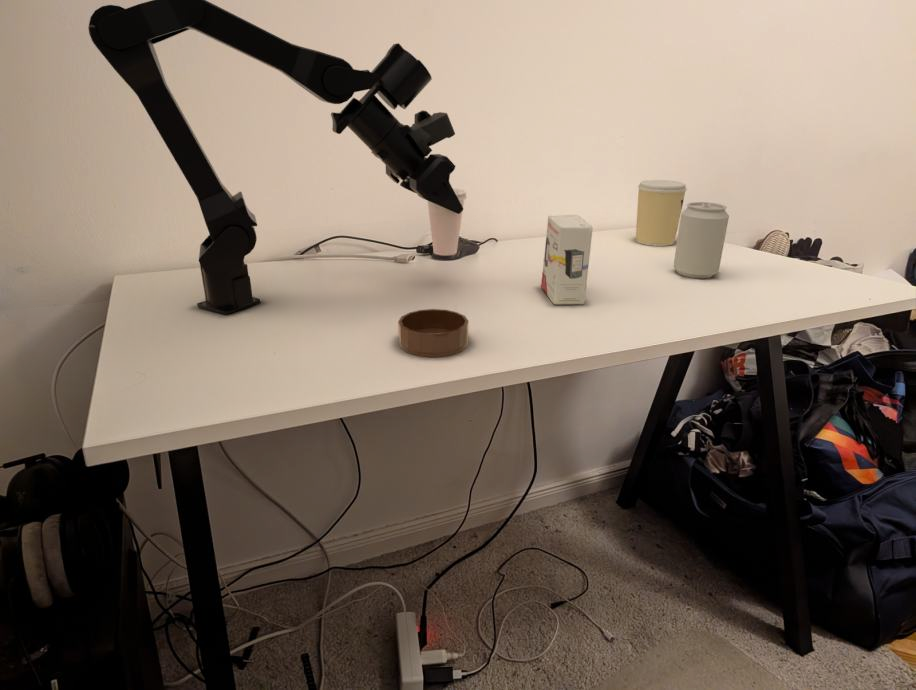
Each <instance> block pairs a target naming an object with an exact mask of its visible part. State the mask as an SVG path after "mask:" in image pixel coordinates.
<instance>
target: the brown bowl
mask: <svg viewBox="0 0 916 690" xmlns="http://www.w3.org/2000/svg"><path fill="white" fill-rule="evenodd" d="M469 323H470V322H469V319H468V317H466V315H464V314H462V313H460V312H458V311H454V310H450V309H441V308H428V309H419V310H415V311H409V312H407V313H405V314H404V315H401V316H400V317H399V319H398V321H397V326H398V327H397V329H398V342H399V347H400V348H401V349H402V350H403V351H404V352H406V353H408V354H410V355H413V356H418V357H425V358H426V357H427V358H439V357H448V356H452V355H456V354H459V353H461V352H462V351H464V350H465V349H466V348H467V347H468V344H469Z"/></svg>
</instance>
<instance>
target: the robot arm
mask: <svg viewBox="0 0 916 690" xmlns="http://www.w3.org/2000/svg"><path fill="white" fill-rule="evenodd" d="M87 28H88V34H89V36H90V40H91V42H92V43H93V45H94V46H95V48H96V49H97V50H98V51H99V52H100V54H101V55H102V56H103V57H104V58H105V60H106V61H107V62H108V63H109V65H110V67H112V68H113V69H114V71H115V72H116V73H117V74H118V76H120V77H121V79H122V80H123V81H124V82H125V84H127V86H128V87H129V88H130V89H131V90H132V91H133V93H134V94H135V95H136V97H138V99H139V101H140V103H141V105H142V107H143V108H144V109H145V111H146V113H147V115H148V116H149V118H150V120H151V121H152V124H153V125H154V127H155V128H156V131H157V132H158V134H159V135H160V137H161V139H162V140H163V142H164V143H165V146H166V147H167V149H168V150H169V152H170V154H171V156H172V157H173V159H174V161H175V162H176V164H177V166H178V168H179V170H180V171H181V173H182V175H183V176H184V178H185V180H186V181H187V183H188V185H189V187H190V189H191V190H192V192H193V193H194V195H195V197H196V199H197V201H198V204H199V207H200V210H201V213H202V217H203V220H204V223H205V226H206V229H207V230H208V236H206V238H205V239H204V240H203V241H202V242H201V243H200V246H199V254H198V263H199V267H200V273H201V280H202V285H203V286H202V287H203V292H204V297H205V300H202V301H200V302H197V303H196V306H197V308H200V309H202V310H203V309H204V310H208V311H210V312H215V313H218V314H222V315H229V314H233V313H236V312H238V311H240V310H243V309H247V308H249V307H252V306H254V305H257V304H260V303H261V301H262V300H261V298H259V297H255V296H253V292H252V291H253V289H252V282H251V276H250V275H249V268H248V264H247V263H245V261H244V260H245V257H246V256H248V255H249V254H250V253H252V252H253V250H255V247H256V244H257V241H258V240H257V238H258V237H257V233H256V228H255V227H257V226H258V222H257V219H256V215H255V214H254V213H253V212H252V211H251V210H250V209H249V207H248V206H247V203H246V201H245V197H244V195H243V192H242V191H239V192H237V193H236V194H232V193H231V192H230V191H229V190H228V189H227V187H226V186H225V185H224V184H223V182H222V181H221V179H220V177H219V176H218V174H217V172H216V170H215V168H214V166H213V164H212V163H211V161H210V159H209V158H208V156H207V154H206V153H205V150H204V149H203V147H202V144H201V143H200V141H199V140H198V137H197V136H196V134H195V132H194V131H193V129H192V127H191V126H190V125H191V124H189V121H188V120H187V118H186V116H185V114H184V113H183V111H182V110H181V107H180V106H179V104H178V102H177V100H176V98H175V96H174V95H173V93H172V91H171V90H170V87H169V85H168V84H167V81H166V78H165V76H164V72H163V69H162V66H161V64H160V60H159V57H158V54H157V52H156V51H157V50H156V49H155V46H154V45H156V44H159V43H161V42H163V41H166V40H168V39H170V38H173V37H175V36H177V35H180V34H182V33H184V32H188V31H190V30H191V31H196V32H197V33H200V34H202V35H204V36H206V37H207V38H209V39H212V40H214V41H216V42H219V43H220V44H222V45H225V46H226V47H229V48H231V49H233V50H235V51H237V52H239V53H241V54H242V55H245V56H247V57H249V58H252V59H253V60H256V61H258V62H260V63H261V64H264V65H265V66H268V67H270V68H272V69H274V70H277V71H279V72H280V73H281V74H283V75H285V76H286V77H287V78H288V79H290V81H292V82H294V83H295V84H297V85H298V86H299V87H300V88H302V89H303V90H304V91H306V92H308V93H309V94H310V95H312V96H314V98H316V99H318V100H319V101H322V102H323V103H324V102H325V103H328V104H332V105H341V104H343V103H346V102H348V101H349V100H350V101H349V102H348V103H347V104H345V106H344V107H343V109H341V111H340V112H332V111H331V113H330V117H331V120H332V129H331V130H332V132H333V133H335V134H338V135H340V134H343V132H344V131H345V129H347V127H348V128H349V129H350V131H351V132H353V134H355V136H356V137H357V138H358V139H359V140H360V141H361V142H362V143H363V144H364V145H365V146H366V147H367V148H368V149H369V150H370V151H371V154H372V155H373V156H374V157H376V158H377V159H379V160H380V161H381V162H382V163H383V164H384V165H385V174H386V175H387V177H388V178H389V179H391V181H393V182H394V183H396V184H399V186H400V187H402V188H404V189H406V190H408V191H410V192H412V193H414V194H416V195H417V196H418V197H420V198H421V199H422V200H426V201H427V202H428V201H430V202H432V203H434V204H437V205H439V206H441V207H444V208H446V209H448V210H450V211H453V212H455V213H457V214H460V213H461V212H462V213H463V211H464V206H463V207H462V205H461V203H460V201H459V199H458V198H457V196H456V194H455V192H454V190H453V189H454V188H453V187H452V184H451V183H450V177H451V174H452V173H453V172H454V171H455V169H456V167H457V166H456V164H454V163H453V161H451V159H450V158H449V157H448V156H446V155H443V154H440V153H431V152H432V151H433V149H432V148H431V147H432V146H434V145H436V144H437V143H439V142H441V141H443V140H445V139H450V138H452V137H453V136H455V135H456V132H455V130H454V127H453V125H452V122H451V119H450V117H449V115H448V113H447V112H442V111H439V112H434V113H432V115H431V114H430V113H429V112H428V111H427V110H420V111H418V112H417V113H414V119H413V120H414V122H413V123H412V124H411V126H410V125H408V124H403V123H401V122H400V121H399V120H398V118H397V117H395V115H393V113H392V111H390V110H389V109H388V108H387V107H386V106H385V104H386V105H387V106H388V107H390V108H391V109H392V110H394V111H395V110H397V108H398V107H400V108H401V109H403V110H406V109H407V108H408V107H409V105H410V104H411V103H412V102H413V101H414V100H415V99H416V98H417V97H418V96H419V94H421V92H422V91H423V90H424V89H425V88H426V87H427V86H428V84H430V82H431V81H432V80H433V78H432V75H431V73H430V71H429V70H428V69H427V67H426V66H425V65H424V63H423V62H422V61H421V60H420V59H417V58H416V57H415V56H414V55H413V54H412V53H411V52H409V51H408V50H406V49H405V48H403V46H402V45H401V44H400V43H399V42H398V43H393V44H392V45H391V47H390V48H389V49H388V50H387V52H386V53H385V56H384V57H383V58H382V59H381V60H380V61H379V62H378V63H377V65H376V66H374V68H373V69H372V70H371V71H370V70H369V69H362V70H360V69H355V68H353V66H352V65H351V64H350V63H349V62H348V61H347V60H345V59H344V58H341V57H339V56H336V55H333V54H329V53H326V52H322V51H320V50H315V49H311V48H308V47H304V46H300V45H297V44H294V43H291V42H289V41H288V40H286V39H283V38H281V37H279V36H277V35H275V34H274V33H271V32H269V31H267V30H265V29H263V28H261V27H259V26H258V25H256V24H253V23H252V22H250V21H248V20H246V19H243V18H242V17H240V16H237V15H236V14H234V13H232V12H230V11H228V10H226V9H224V8H222V7H220V6H218V5H216V4H215V3H213V2H210V1H208V0H149V1H145V2H141V3H138V4H136V5H132V6H130V7H126V8H125V7H122V6H120V5H115V4H106V5H102V6H100V7H99V8H97V9H95V10H94V12H93V13H92V14H91V16H90V18H89V21H88V27H87ZM367 90H368V91H367ZM364 91H367V92H366V93H365V94H364V95H363V96H362V97H361V98H360V99H357V98H356V97H353V96H354V94H355V93H358V92H364ZM376 95H378V97H379V98H380V99H381V100H382V101H383V102H384V103H385V104H383V102H382V101H380V99H379V98H378V97H377V96H376ZM351 98H352V99H351Z"/></svg>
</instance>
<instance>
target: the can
mask: <svg viewBox="0 0 916 690" xmlns="http://www.w3.org/2000/svg"><path fill="white" fill-rule="evenodd" d="M726 210H727V206H726V205H725V204H722V203H716V202H708V201H705V202H704V201H693V202H689V203H687V204H686V208H685V209H683V210H682V211H681V214H680V219H679V225H678V233H677V239H676V246H675V252H674V259H673V265H672V268H673V269H674V270H675V271H676V273H677V274H678V275H679V276H683V277H685V278H689V279H690V278H691V279H711V278H713V276H715V275H716V274H718V273H719V271H720V266H721V261H722V255H723V251H724V245H725V241H726V235H727V228H728V224H729V219H730V215H729V214H728V212H727V211H726Z"/></svg>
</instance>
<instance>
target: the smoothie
mask: <svg viewBox="0 0 916 690" xmlns="http://www.w3.org/2000/svg"><path fill="white" fill-rule="evenodd" d="M453 190H454V192H455V194H456V196H457V198H458V199H459V201H460V203H461V205H462V207H463V208H464V203H465V200H466V199H467V192H466V190H464V189H459V188H453ZM427 208H428V210H427V211H428V215H429V217H428V218H429V226H430V233H431V241H432V242H431V243H432V250H433V254H434V255H437V256H442V257H443V256H444V257H445V256H446V257H447V256H454V255H457V254H458V253H457V252H458V247H459V239H460V231H461V224H462V217H463V211H462V212H461V213H460V214H457V213H455V212H453V211H450V210H448V209H446V208H444V207H441V206H439V205H437V204H434V203H432V202H430V201H427Z"/></svg>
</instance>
